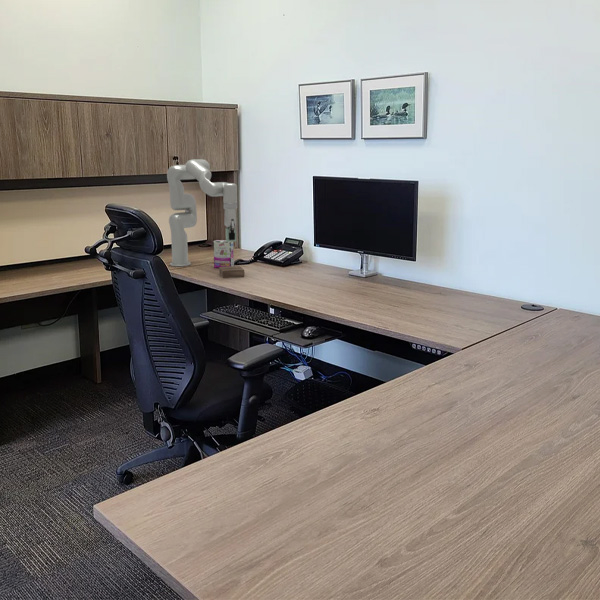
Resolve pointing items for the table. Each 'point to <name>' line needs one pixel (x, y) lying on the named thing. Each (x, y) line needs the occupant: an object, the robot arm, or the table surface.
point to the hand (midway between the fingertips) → (231, 238)
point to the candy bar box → (223, 253)
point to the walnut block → (231, 271)
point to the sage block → (228, 235)
